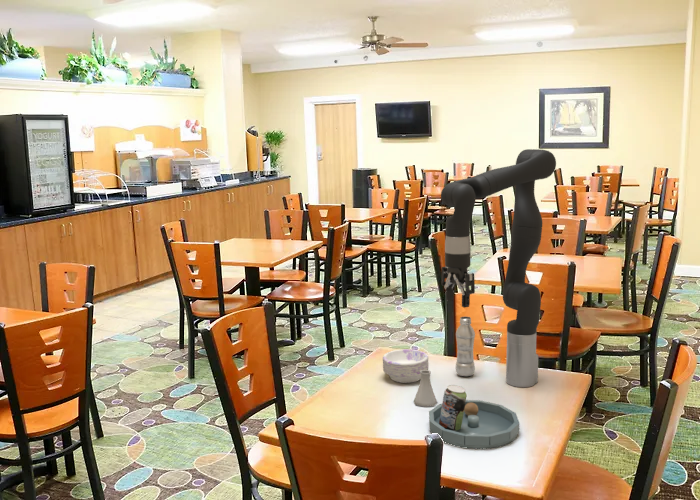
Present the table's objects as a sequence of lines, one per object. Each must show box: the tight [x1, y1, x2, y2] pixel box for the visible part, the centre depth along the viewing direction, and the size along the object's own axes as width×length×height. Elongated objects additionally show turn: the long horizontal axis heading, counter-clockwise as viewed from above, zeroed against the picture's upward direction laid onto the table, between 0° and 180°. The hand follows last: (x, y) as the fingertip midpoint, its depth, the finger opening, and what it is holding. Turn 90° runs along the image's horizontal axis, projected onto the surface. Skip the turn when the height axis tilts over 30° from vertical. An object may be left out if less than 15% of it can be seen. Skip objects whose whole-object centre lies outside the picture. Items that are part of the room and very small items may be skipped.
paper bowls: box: [382, 348, 429, 384], centre depth 226 cm, size 15×15×8 cm
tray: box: [428, 399, 520, 450], centre depth 186 cm, size 24×24×4 cm
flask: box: [413, 369, 438, 408], centre depth 204 cm, size 7×7×10 cm
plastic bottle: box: [455, 316, 476, 377], centre depth 226 cm, size 6×7×20 cm
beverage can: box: [439, 384, 467, 431], centre depth 183 cm, size 6×7×12 cm
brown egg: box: [464, 402, 478, 416], centre depth 192 cm, size 4×4×4 cm
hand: (457, 303), depth 203 cm, fingers open, 8 cm apart
